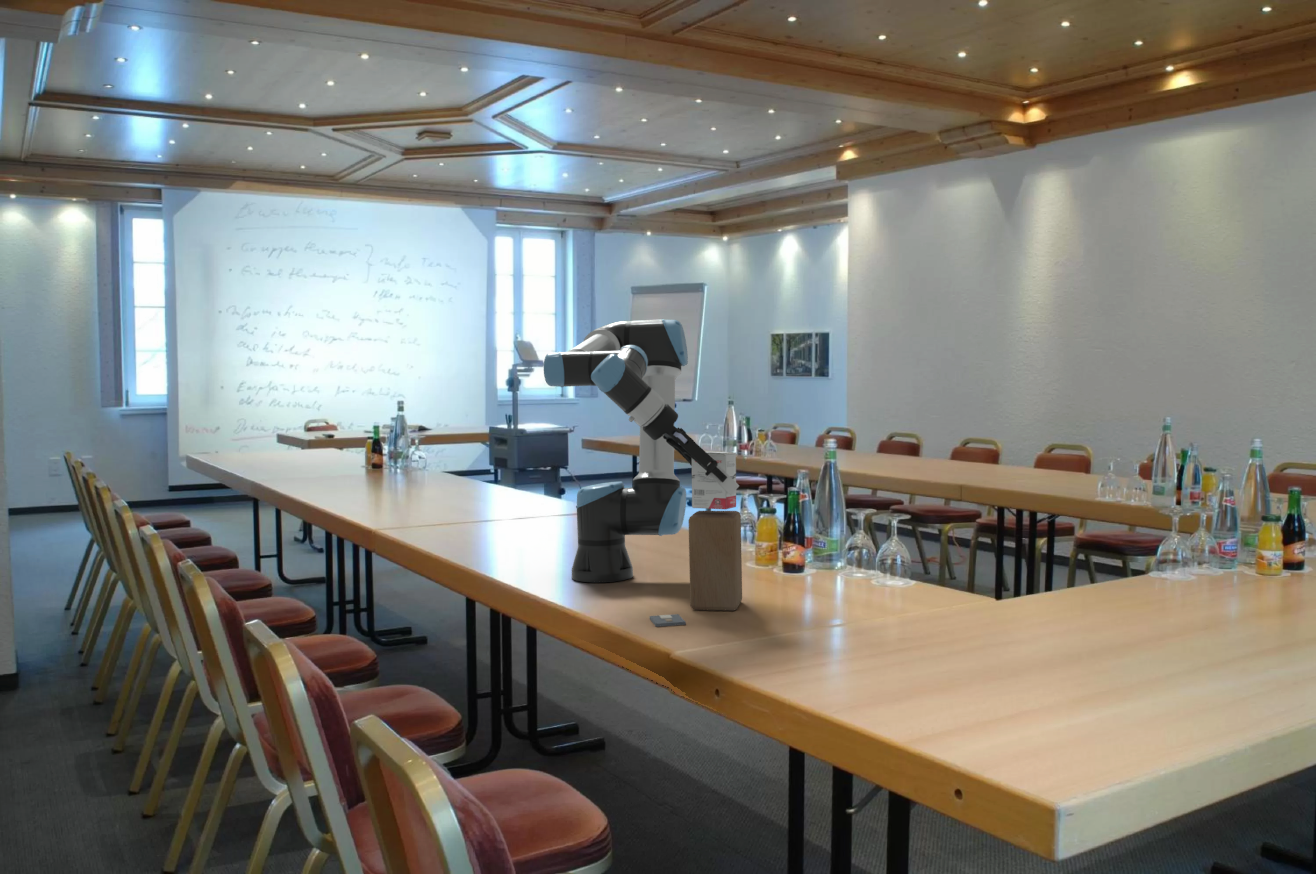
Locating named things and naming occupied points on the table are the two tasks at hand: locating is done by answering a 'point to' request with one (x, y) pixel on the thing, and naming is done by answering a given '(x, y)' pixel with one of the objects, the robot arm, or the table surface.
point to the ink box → (713, 483)
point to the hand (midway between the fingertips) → (728, 487)
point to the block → (715, 560)
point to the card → (667, 620)
